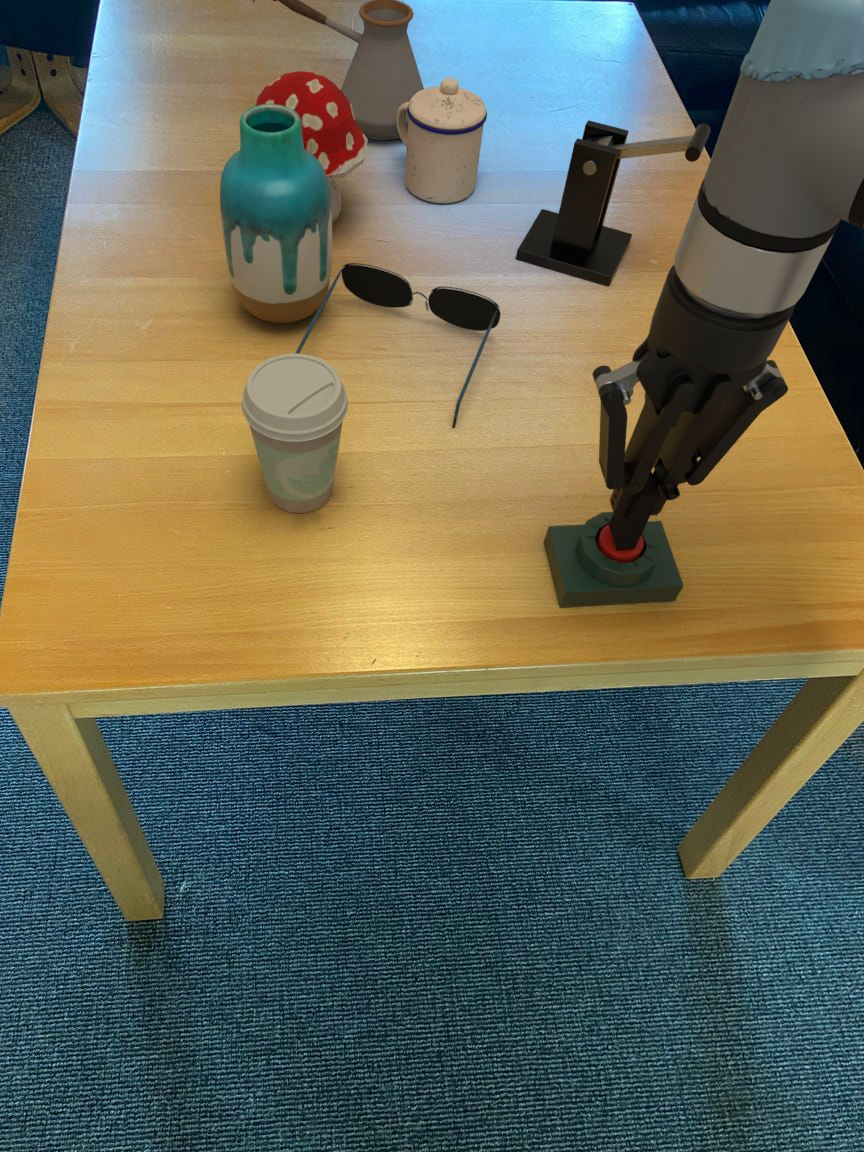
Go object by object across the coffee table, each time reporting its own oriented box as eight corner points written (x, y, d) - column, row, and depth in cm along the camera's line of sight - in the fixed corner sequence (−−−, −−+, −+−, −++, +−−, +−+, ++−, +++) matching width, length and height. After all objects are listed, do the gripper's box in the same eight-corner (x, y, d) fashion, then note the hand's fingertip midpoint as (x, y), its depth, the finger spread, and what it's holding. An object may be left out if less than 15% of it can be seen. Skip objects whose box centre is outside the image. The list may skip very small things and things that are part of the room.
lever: (710, 142, 86) (710, 116, 84) (700, 166, 84) (699, 140, 82) (592, 156, 92) (589, 132, 90) (578, 179, 89) (576, 155, 88)
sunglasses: (498, 336, 90) (504, 298, 85) (454, 442, 84) (458, 408, 79) (344, 294, 92) (342, 256, 88) (292, 395, 86) (286, 359, 82)
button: (631, 534, 73) (637, 521, 71) (642, 568, 71) (648, 555, 69) (590, 536, 72) (595, 523, 71) (600, 570, 70) (605, 557, 69)
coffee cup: (262, 533, 74) (250, 431, 64) (244, 462, 79) (230, 356, 69) (358, 515, 76) (360, 413, 66) (335, 447, 80) (334, 341, 70)
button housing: (653, 536, 76) (668, 506, 73) (675, 601, 72) (691, 572, 69) (543, 542, 75) (552, 512, 72) (559, 607, 71) (570, 579, 68)
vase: (226, 338, 88) (200, 147, 72) (238, 274, 93) (217, 84, 77) (329, 343, 88) (327, 155, 72) (335, 279, 94) (334, 91, 77)
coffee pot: (425, 104, 115) (435, -30, 102) (426, 150, 108) (438, 14, 96) (265, 96, 114) (255, -39, 101) (257, 142, 108) (246, 4, 95)
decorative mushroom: (254, 258, 95) (240, 116, 82) (240, 187, 102) (226, 47, 90) (377, 248, 97) (382, 108, 84) (355, 179, 104) (357, 41, 92)
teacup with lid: (492, 186, 105) (507, 83, 95) (442, 215, 101) (452, 111, 91) (421, 146, 109) (429, 44, 99) (370, 172, 105) (373, 68, 95)
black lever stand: (629, 243, 100) (664, 129, 89) (609, 286, 95) (643, 172, 84) (539, 218, 102) (563, 103, 91) (515, 259, 97) (537, 143, 86)
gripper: (817, 240, 53) (685, 498, 73) (611, 244, 51) (534, 505, 71) (865, 320, 49) (711, 569, 69) (643, 325, 47) (552, 577, 67)
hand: (621, 536), depth 70 cm, fingers closed
